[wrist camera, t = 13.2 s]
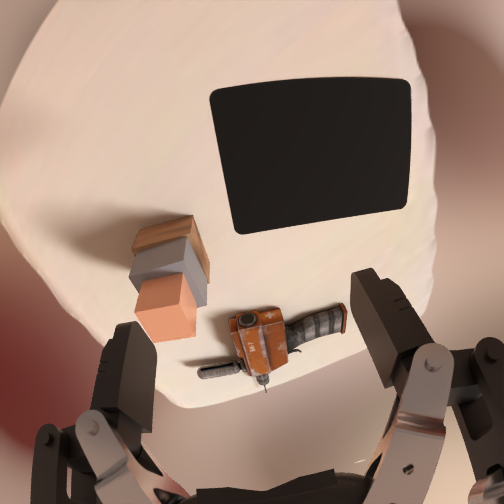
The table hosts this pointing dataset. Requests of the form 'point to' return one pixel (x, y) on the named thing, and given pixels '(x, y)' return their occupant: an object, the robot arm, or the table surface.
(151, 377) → the robot arm
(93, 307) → the table surface
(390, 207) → the tablet
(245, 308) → the table surface
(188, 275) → the gray middle block
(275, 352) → the tool
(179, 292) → the terracotta block
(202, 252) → the walnut base block
